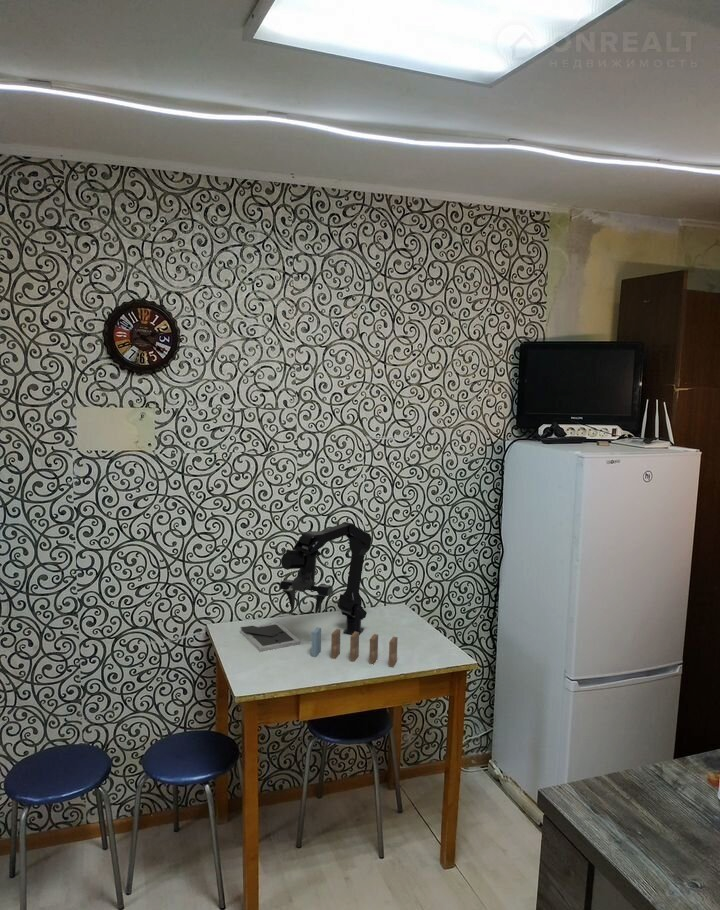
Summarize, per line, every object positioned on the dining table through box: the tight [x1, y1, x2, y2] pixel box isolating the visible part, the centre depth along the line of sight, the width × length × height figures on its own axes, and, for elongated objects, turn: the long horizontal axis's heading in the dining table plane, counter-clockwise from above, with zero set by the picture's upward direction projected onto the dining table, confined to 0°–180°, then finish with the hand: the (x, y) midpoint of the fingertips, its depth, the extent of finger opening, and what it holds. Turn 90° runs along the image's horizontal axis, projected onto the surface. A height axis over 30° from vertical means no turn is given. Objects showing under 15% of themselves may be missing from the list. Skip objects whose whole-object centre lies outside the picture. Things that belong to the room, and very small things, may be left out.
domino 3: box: [349, 632, 360, 662], centre depth 248 cm, size 2×5×9 cm, turn 163°
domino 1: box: [311, 626, 322, 658], centre depth 251 cm, size 2×5×9 cm, turn 163°
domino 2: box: [330, 628, 341, 660], centre depth 250 cm, size 2×5×9 cm, turn 163°
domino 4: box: [368, 633, 379, 666], centre depth 246 cm, size 2×5×9 cm, turn 163°
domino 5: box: [388, 636, 399, 668], centre depth 244 cm, size 2×5×9 cm, turn 163°
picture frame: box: [240, 622, 301, 653], centre depth 265 cm, size 16×3×21 cm
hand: (304, 611), depth 253 cm, fingers open, 9 cm apart
